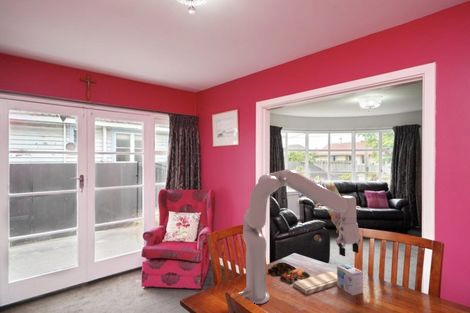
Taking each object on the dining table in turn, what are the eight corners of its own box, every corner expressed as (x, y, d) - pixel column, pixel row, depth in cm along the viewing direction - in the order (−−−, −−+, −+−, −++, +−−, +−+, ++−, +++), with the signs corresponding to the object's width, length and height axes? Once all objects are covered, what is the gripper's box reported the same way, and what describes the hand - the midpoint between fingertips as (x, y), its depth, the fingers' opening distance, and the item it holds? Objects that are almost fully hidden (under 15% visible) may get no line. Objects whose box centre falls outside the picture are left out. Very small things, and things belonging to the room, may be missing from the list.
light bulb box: (336, 286, 134) (336, 265, 135) (346, 283, 137) (346, 263, 137) (353, 295, 124) (352, 273, 125) (363, 293, 127) (362, 271, 127)
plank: (306, 294, 126) (306, 290, 126) (293, 285, 135) (293, 281, 135) (346, 281, 139) (346, 277, 139) (331, 274, 148) (331, 271, 148)
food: (262, 272, 152) (262, 266, 153) (283, 265, 164) (283, 259, 164) (292, 286, 135) (292, 279, 135) (313, 276, 147) (313, 270, 147)
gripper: (342, 223, 124) (343, 259, 124) (366, 219, 132) (366, 253, 131) (330, 220, 131) (330, 254, 130) (353, 217, 138) (354, 248, 138)
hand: (349, 253), depth 131 cm, fingers open, 9 cm apart
